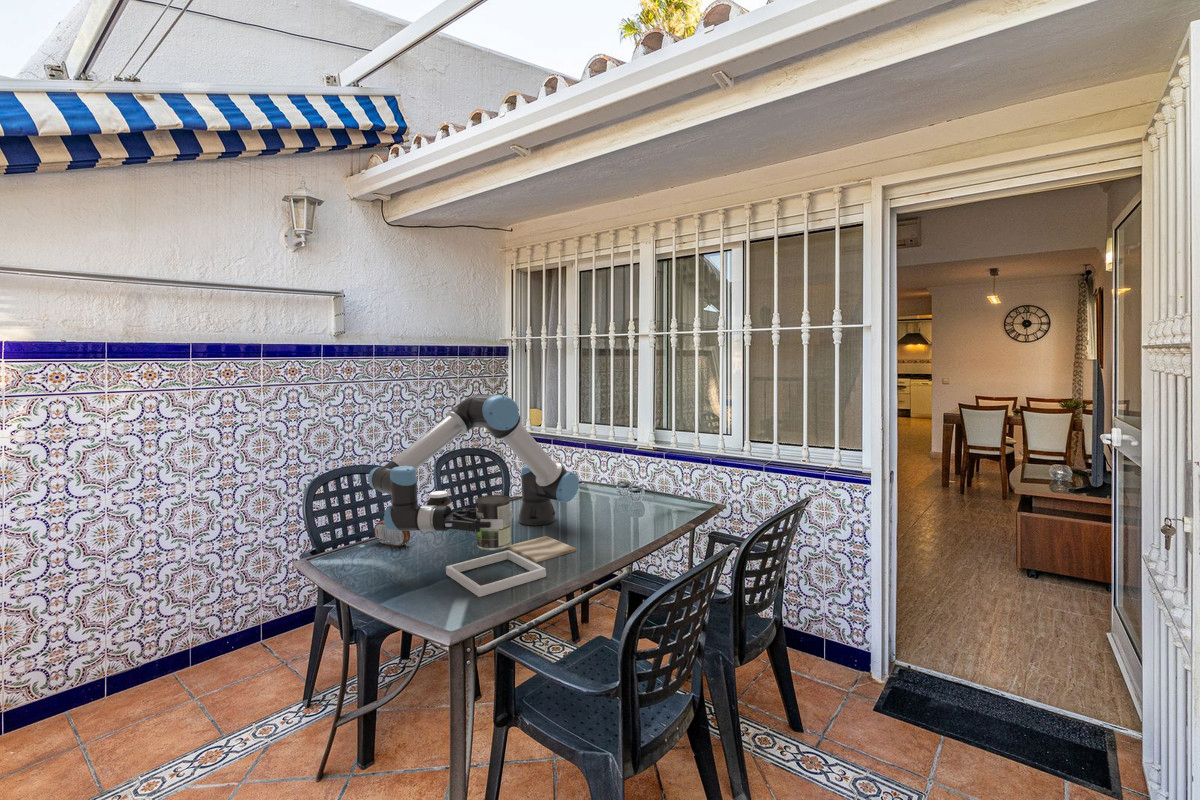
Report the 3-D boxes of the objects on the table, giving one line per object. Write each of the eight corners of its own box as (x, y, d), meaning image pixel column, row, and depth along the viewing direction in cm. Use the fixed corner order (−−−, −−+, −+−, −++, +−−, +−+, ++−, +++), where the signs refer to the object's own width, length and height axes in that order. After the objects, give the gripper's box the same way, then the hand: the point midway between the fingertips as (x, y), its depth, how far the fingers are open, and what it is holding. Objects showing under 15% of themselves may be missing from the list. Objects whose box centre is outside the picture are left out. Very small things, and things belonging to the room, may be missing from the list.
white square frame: (446, 574, 173) (445, 566, 173) (509, 557, 187) (509, 549, 186) (479, 597, 156) (478, 588, 156) (545, 576, 170) (545, 568, 169)
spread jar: (440, 516, 237) (439, 489, 236) (462, 519, 232) (461, 491, 232) (420, 524, 227) (419, 495, 226) (442, 527, 222) (441, 498, 221)
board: (507, 548, 195) (507, 545, 195) (546, 538, 205) (546, 535, 205) (535, 562, 181) (535, 559, 181) (575, 551, 191) (575, 548, 191)
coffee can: (481, 552, 164) (479, 505, 163) (473, 542, 173) (471, 497, 172) (515, 547, 168) (514, 500, 167) (506, 537, 177) (505, 493, 176)
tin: (411, 545, 200) (410, 522, 200) (404, 548, 198) (403, 525, 197) (379, 540, 207) (378, 518, 206) (373, 543, 204) (371, 520, 203)
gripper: (450, 519, 183) (517, 520, 181) (421, 542, 161) (497, 543, 159) (449, 496, 183) (516, 497, 180) (419, 516, 160) (496, 517, 158)
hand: (507, 518), depth 169 cm, fingers closed on coffee can, 10 cm apart
